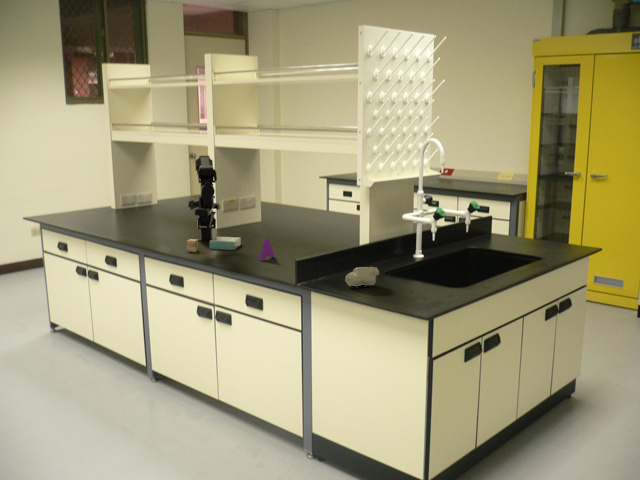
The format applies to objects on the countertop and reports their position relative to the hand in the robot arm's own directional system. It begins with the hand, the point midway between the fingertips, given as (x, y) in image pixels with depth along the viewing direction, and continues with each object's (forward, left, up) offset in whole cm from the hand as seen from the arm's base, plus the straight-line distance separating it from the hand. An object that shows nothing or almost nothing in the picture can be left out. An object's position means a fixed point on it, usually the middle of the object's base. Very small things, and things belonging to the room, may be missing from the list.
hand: (208, 227), depth 281 cm
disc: (-7, +6, -10) cm, 13 cm away
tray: (-8, +6, -11) cm, 14 cm away
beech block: (+4, -6, -11) cm, 13 cm away
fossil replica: (+49, +77, -11) cm, 92 cm away
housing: (-8, +6, -11) cm, 14 cm away
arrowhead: (+14, +32, -11) cm, 36 cm away
